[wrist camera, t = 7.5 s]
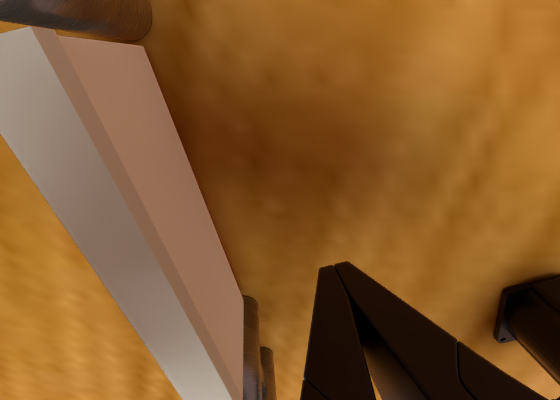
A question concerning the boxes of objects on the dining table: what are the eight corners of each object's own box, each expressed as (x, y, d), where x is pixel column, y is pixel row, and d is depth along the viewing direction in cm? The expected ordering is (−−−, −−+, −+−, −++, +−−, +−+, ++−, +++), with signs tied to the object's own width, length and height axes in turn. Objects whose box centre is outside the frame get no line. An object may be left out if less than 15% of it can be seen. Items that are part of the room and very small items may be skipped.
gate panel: (247, 299, 20) (248, 429, 13) (201, 311, 20) (177, 447, 13) (149, 44, 13) (29, 26, 6) (77, 62, 13) (-132, 67, 6)
